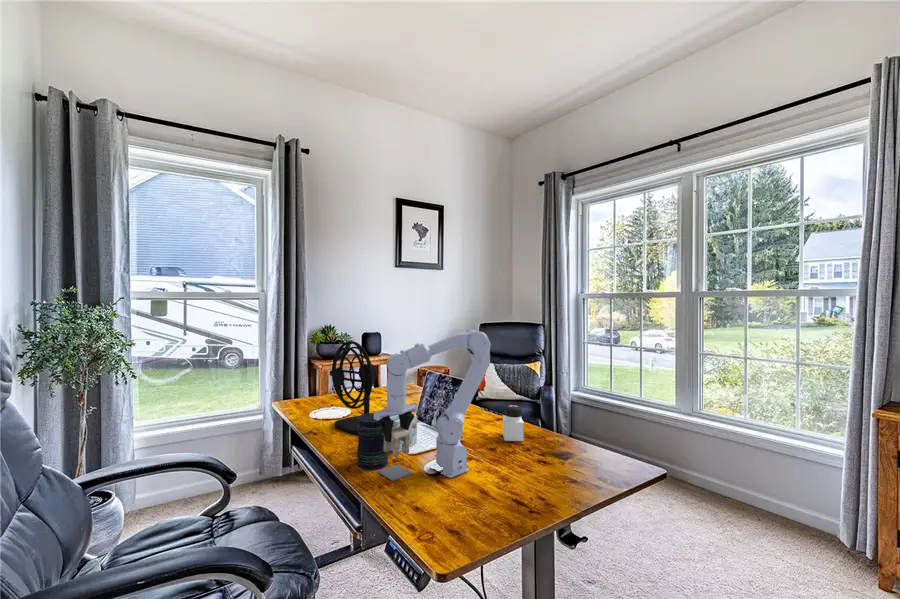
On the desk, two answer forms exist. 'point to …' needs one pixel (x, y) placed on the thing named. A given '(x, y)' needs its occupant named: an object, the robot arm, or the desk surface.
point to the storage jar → (370, 444)
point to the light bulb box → (411, 428)
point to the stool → (398, 440)
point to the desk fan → (367, 377)
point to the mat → (395, 472)
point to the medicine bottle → (513, 424)
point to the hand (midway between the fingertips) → (395, 439)
